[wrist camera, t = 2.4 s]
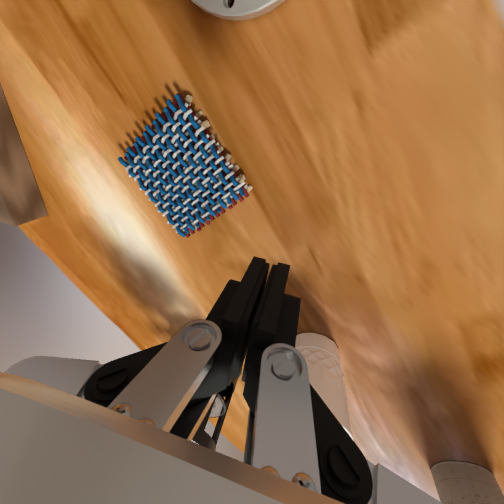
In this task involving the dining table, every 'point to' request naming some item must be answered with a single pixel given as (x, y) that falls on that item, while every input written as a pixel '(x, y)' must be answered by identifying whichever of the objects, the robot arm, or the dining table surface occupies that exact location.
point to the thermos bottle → (465, 484)
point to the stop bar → (16, 175)
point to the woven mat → (184, 168)
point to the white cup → (326, 374)
